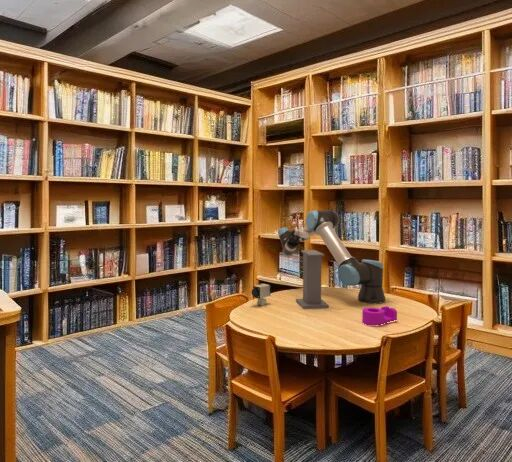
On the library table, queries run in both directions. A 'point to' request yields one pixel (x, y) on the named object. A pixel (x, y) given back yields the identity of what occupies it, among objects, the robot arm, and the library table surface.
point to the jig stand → (312, 281)
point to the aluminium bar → (302, 234)
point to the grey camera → (261, 293)
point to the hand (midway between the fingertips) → (299, 228)
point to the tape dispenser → (378, 315)
